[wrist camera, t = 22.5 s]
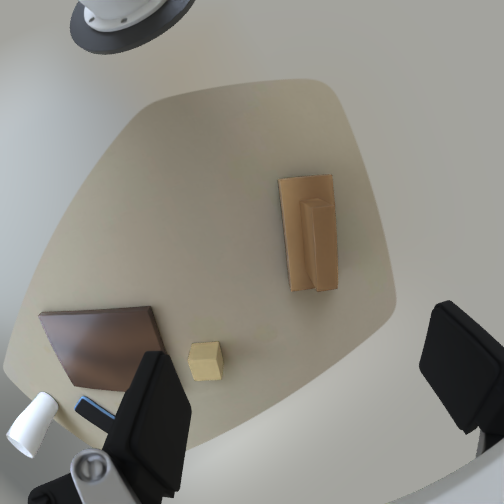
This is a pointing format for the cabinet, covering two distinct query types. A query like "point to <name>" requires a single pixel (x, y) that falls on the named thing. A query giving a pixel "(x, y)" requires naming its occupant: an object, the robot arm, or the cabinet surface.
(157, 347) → the book
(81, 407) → the smartphone
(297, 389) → the cabinet surface
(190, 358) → the cream foam cube
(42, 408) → the drinking glass
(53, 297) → the cabinet surface
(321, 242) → the brown block with base
